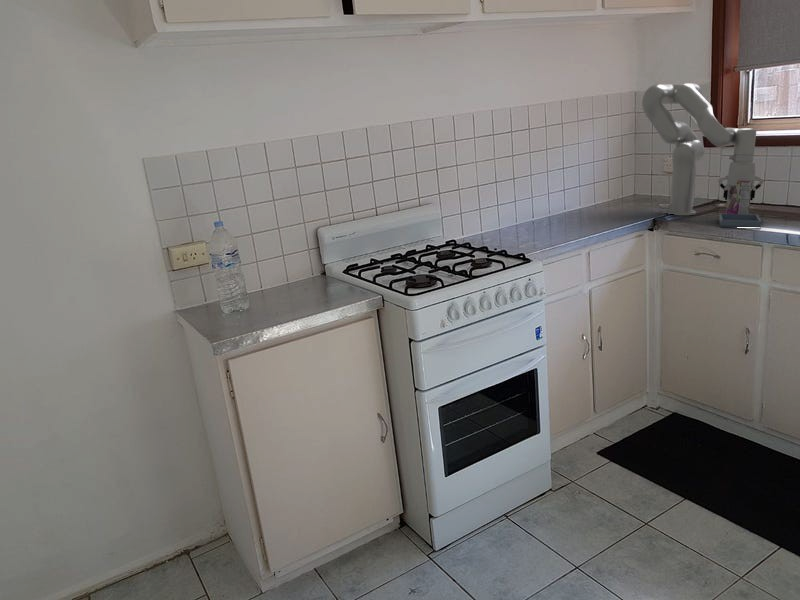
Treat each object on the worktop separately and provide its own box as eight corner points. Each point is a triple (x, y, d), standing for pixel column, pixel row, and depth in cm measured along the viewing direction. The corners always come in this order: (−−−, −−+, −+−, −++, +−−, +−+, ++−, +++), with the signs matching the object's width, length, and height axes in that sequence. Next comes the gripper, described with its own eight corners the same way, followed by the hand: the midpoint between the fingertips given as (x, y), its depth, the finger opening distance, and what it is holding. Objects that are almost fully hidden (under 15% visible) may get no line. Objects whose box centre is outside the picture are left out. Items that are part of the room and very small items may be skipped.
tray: (720, 227, 256) (721, 220, 255) (718, 220, 270) (719, 213, 269) (760, 229, 250) (761, 221, 249) (756, 222, 264) (757, 214, 264)
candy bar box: (724, 216, 280) (728, 178, 275) (735, 215, 279) (740, 178, 275) (736, 220, 269) (741, 181, 264) (748, 220, 269) (753, 180, 264)
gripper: (720, 159, 267) (716, 200, 272) (767, 159, 260) (762, 201, 265) (719, 158, 273) (715, 198, 278) (765, 157, 267) (760, 198, 272)
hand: (738, 199), depth 272 cm, fingers open, 9 cm apart
